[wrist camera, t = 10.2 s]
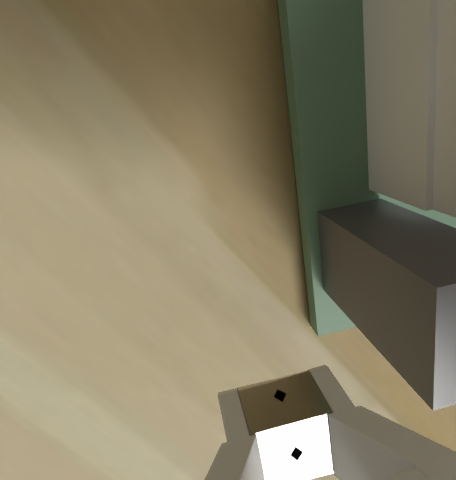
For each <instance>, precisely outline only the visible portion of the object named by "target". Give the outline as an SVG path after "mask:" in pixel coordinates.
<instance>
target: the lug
mask: <svg viewBox="0 0 456 480" xmlns="http://www.w3.org/2000/svg"><path fill="white" fill-rule="evenodd" d="M317 213H318V225H319V237H320V249H321V260H322V272H323V284H324V291H325V292H326V294H327V295H328V296H329V297H330V298H331V299H332V300H333V301H334V302H335V303H336V305H337V306H338V307H339V308H340V309H341V310H342V311H343V312H344V313H345V314H346V315H347V317H348V318H349V319H350V320H351V321H352V322H353V323H354V324H355V325H356V326H357V328H358V329H359V330H360V331H361V332H362V333H363V334H364V335H365V336H366V337H367V339H368V340H369V341H370V342H371V343H372V344H373V345H374V346H375V347H376V348H377V350H378V351H379V352H380V353H381V354H382V355H383V356H384V357H385V358H386V359H387V361H388V362H389V363H390V364H391V365H392V366H393V367H394V368H395V369H396V370H397V372H398V373H399V374H400V375H401V376H402V377H403V378H404V379H405V380H406V381H407V383H408V384H409V385H410V386H411V387H412V388H413V389H414V390H415V391H416V392H417V394H418V395H419V396H420V397H421V398H422V399H423V400H424V401H425V402H426V403H427V405H428V406H429V407H430V408H431V409H432V410H433V411H434V410H437V409H441V408H444V407H448V406H452V405H455V404H456V228H454V227H451V226H449V225H446V224H444V223H441V222H439V221H436V220H434V219H431V218H429V217H426V216H424V215H421V214H418V213H416V212H413V211H411V210H408V209H406V208H403V207H401V206H398V205H396V204H393V203H391V202H388V201H386V200H383V199H375V200H370V201H366V202H361V203H356V204H351V205H347V206H342V207H337V208H332V209H328V210H323V211H318V212H317Z"/></svg>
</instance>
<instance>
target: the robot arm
mask: <svg viewBox="0 0 456 480" xmlns="http://www.w3.org/2000/svg"><path fill="white" fill-rule="evenodd" d="M218 399H219V404H220V409H221V414H222V419H223V424H224V429H225V433H226V438H227V442H226V443H223V444H221V446H220V448H219V450H218V452H217V455H216V457H215V459H214V461H213V463H212V465H211V467H210V469H209V471H208V474H207V476H206V478H205V480H309V479H313V478H316V477H320V476H324V475H328V474H332V473H334V475H335V476H336V477H337V478H339V479H340V480H456V452H455V451H453V450H451V449H449V448H447V447H445V446H443V445H441V444H438V443H436V442H434V441H432V440H430V439H428V438H426V437H424V436H422V435H420V434H418V433H416V432H414V431H412V430H410V429H408V428H406V427H403V426H401V425H399V424H397V423H395V422H393V421H391V420H389V419H387V418H385V417H383V416H381V415H379V414H377V413H375V412H373V411H371V410H368V409H366V408H364V407H362V406H358V407H355V406H354V405H353V403H352V402H351V400H350V399H349V397H348V396H347V394H346V393H345V391H344V390H343V388H342V387H341V385H340V384H339V382H338V381H337V380H336V378H335V377H334V375H333V374H332V372H331V371H330V369H329V368H328V367H327V366H326V365H323V366H320V367H316V368H312V369H309V370H307V371H303V372H299V373H296V374H292V375H288V376H284V377H281V378H277V379H273V380H269V381H264V382H260V383H256V384H252V385H247V386H243V387H239V388H237V389H232V390H227V391H223V392H219V393H218Z"/></svg>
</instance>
